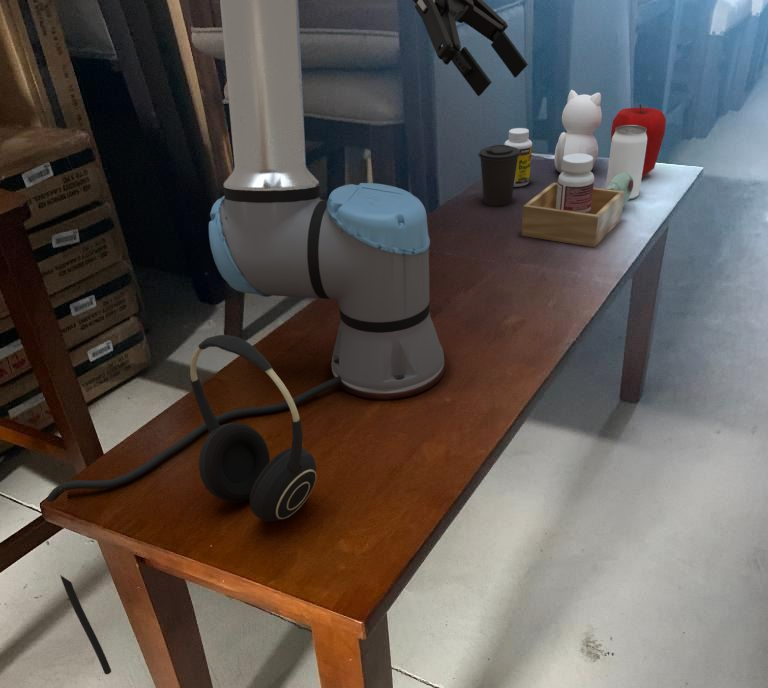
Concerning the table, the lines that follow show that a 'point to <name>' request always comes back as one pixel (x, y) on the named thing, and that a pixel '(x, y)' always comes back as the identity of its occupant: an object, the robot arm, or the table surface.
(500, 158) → the coffee cup
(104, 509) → the table surface
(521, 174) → the supplement bottle
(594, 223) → the holder
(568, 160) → the pill bottle
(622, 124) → the apple
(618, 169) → the can
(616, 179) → the green rounded faceted piece
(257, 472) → the headphones
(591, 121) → the cat figurine
